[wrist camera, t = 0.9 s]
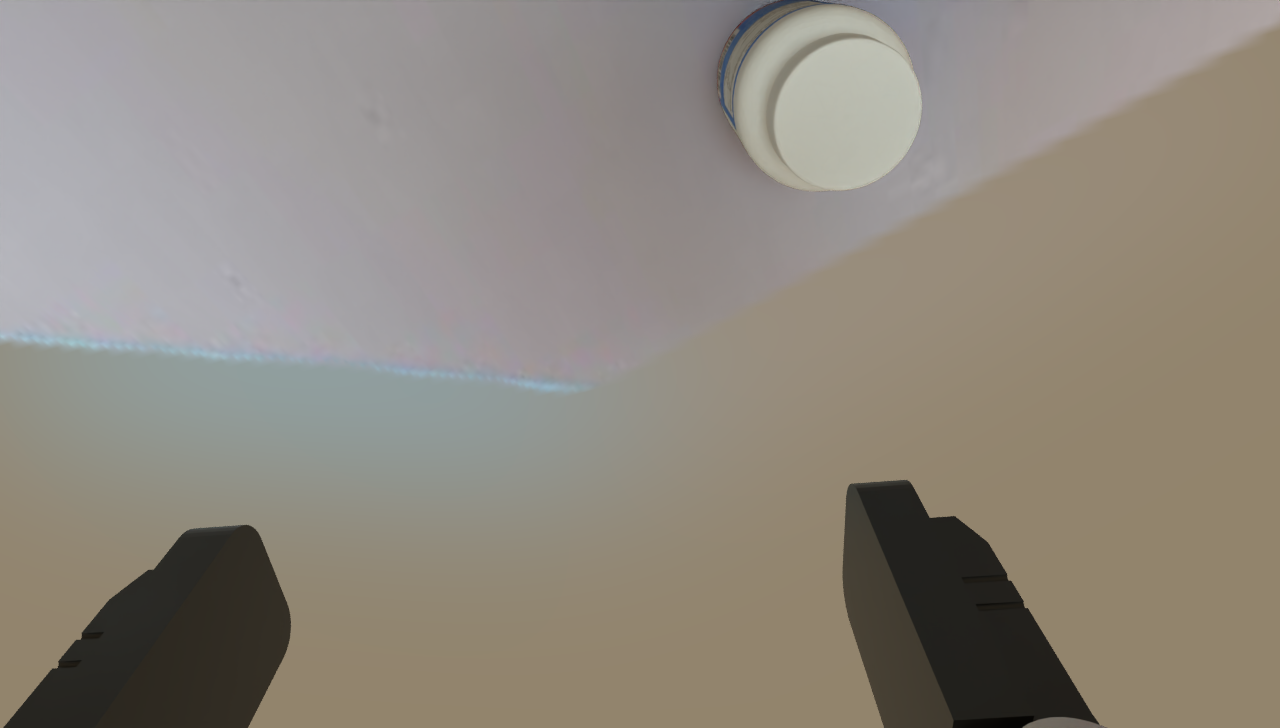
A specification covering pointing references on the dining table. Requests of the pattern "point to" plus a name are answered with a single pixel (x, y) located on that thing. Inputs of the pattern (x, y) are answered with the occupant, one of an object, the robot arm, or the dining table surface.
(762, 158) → the pill bottle
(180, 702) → the robot arm
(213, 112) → the dining table surface
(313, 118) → the dining table surface
